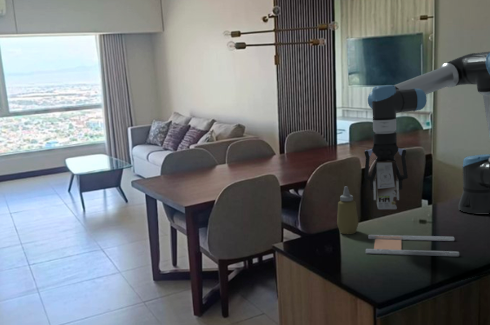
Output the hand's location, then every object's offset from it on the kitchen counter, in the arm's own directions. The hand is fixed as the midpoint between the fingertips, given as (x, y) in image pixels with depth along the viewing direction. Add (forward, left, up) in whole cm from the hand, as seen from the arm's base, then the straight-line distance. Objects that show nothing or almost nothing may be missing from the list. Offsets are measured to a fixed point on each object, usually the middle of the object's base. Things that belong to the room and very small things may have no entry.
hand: (386, 198), depth 170 cm
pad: (0, 0, -17) cm, 17 cm away
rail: (-8, 0, -17) cm, 18 cm away
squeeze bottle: (+15, -14, -17) cm, 27 cm away
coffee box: (0, 0, -3) cm, 3 cm away
